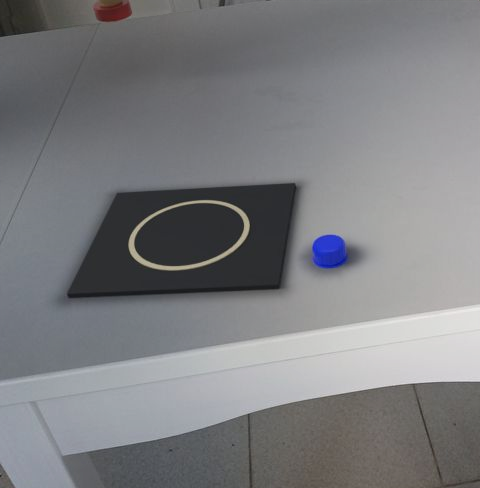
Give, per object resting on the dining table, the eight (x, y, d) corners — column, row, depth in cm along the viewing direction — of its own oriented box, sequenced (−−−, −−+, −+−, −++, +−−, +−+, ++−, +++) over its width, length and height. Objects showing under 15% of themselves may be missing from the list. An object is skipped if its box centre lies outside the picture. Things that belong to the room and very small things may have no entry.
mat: (68, 299, 61) (65, 292, 61) (118, 197, 73) (116, 191, 72) (279, 290, 60) (278, 283, 59) (296, 187, 71) (295, 181, 71)
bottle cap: (307, 265, 62) (304, 249, 61) (322, 246, 64) (320, 229, 63) (339, 272, 61) (337, 255, 60) (353, 252, 63) (351, 235, 62)
